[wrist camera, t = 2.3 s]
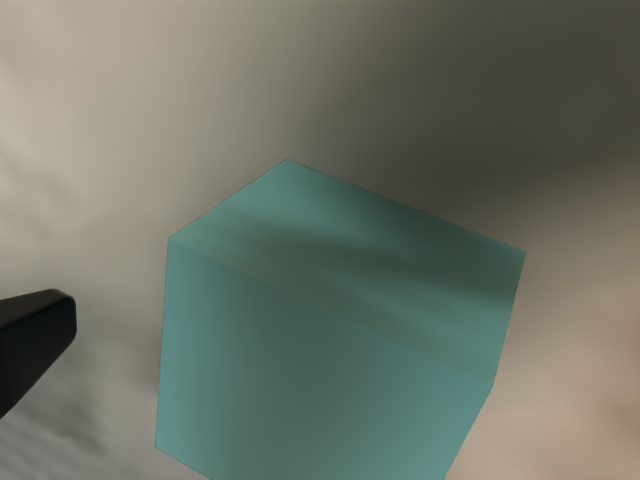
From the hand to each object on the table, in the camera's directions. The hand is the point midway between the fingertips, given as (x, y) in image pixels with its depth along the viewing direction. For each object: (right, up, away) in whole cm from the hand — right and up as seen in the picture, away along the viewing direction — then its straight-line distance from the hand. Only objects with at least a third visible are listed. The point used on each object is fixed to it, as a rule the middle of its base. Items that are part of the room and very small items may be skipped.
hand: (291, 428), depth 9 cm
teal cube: (+2, +2, +3) cm, 4 cm away
